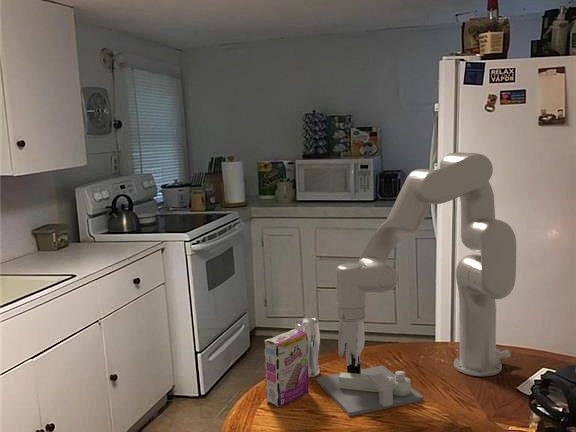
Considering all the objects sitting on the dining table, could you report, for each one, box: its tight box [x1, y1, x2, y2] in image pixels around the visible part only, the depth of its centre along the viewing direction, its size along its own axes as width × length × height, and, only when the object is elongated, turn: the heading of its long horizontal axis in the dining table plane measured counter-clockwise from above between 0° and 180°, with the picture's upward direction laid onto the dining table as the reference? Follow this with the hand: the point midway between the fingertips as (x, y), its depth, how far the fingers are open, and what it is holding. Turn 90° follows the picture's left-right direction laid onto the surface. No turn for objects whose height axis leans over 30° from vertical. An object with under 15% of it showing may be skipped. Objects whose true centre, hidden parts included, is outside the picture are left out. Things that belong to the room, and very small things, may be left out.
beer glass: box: [294, 317, 321, 378], centre depth 156 cm, size 7×7×15 cm
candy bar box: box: [263, 328, 310, 408], centre depth 142 cm, size 11×5×16 cm, turn 136°
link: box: [339, 370, 412, 396], centre depth 142 cm, size 18×5×5 cm, turn 71°
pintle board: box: [316, 365, 424, 417], centre depth 144 cm, size 20×22×6 cm
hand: (354, 378), depth 148 cm, fingers closed
